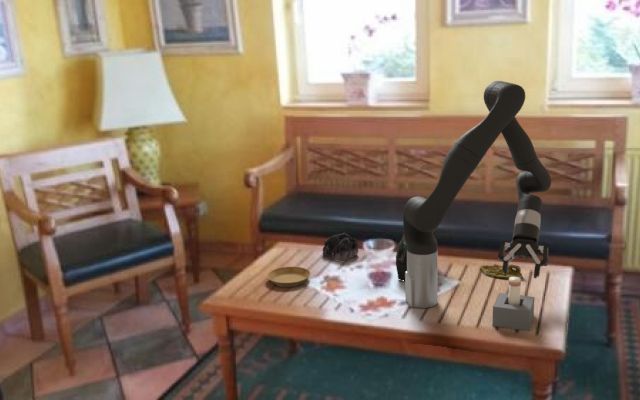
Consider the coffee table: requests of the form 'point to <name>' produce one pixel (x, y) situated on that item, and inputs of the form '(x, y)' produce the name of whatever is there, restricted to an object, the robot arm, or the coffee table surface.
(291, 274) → the plant saucer
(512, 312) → the hole block
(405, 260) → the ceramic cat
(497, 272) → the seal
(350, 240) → the crystal cluster
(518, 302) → the dowel
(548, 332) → the coffee table surface
